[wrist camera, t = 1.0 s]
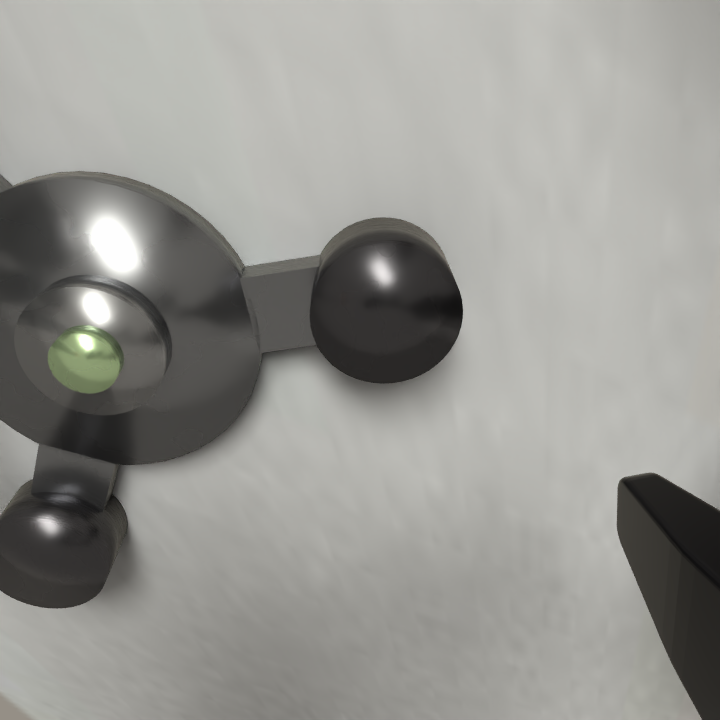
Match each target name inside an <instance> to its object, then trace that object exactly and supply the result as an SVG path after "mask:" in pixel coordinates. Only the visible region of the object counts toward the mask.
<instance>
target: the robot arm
mask: <svg viewBox="0 0 720 720" xmlns="http://www.w3.org/2000/svg"><path fill="white" fill-rule="evenodd" d="M617 531H618V536H619V539H620V542H621V545H622V547H623V550H624V552H625V555H626V557H627V559H628V562H629V564H630V567H631V569H632V571H633V574H634V576H635V578H636V581H637V583H638V586H639V588H640V590H641V593H642V595H643V597H644V600H645V602H646V605H647V607H648V609H649V612H650V614H651V617H652V619H653V621H654V624H655V626H656V628H657V631H658V633H659V636H660V638H661V640H662V643H663V645H664V647H665V649H666V652H667V654H668V656H669V658H670V661H671V663H672V665H673V667H674V668H675V670H676V672H677V674H678V676H679V678H680V680H681V682H682V684H683V686H684V687H685V689H686V691H687V693H688V695H689V697H690V698H691V700H692V702H693V704H694V706H695V707H696V709H697V711H698V713H699V715H700V717H701V718H702V720H720V510H718V509H716V508H715V507H713V506H711V505H709V504H708V503H706V502H704V501H703V500H701V499H699V498H697V497H696V496H694V495H692V494H691V493H689V492H687V491H685V490H684V489H682V488H680V487H679V486H677V485H675V484H674V483H672V482H670V481H668V480H667V479H665V478H663V477H662V476H660V475H658V474H655V473H644V474H639V475H634V476H628V477H624V478H622V479H621V480H620V481H619V484H618V498H617Z"/></svg>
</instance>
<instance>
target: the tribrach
mask: <svg viewBox="0 0 720 720" xmlns="http://www.w3.org/2000/svg"><path fill="white" fill-rule="evenodd" d="M462 318H463V306H462V299H461V295H460V291H459V289H458V286H457V284H456V282H455V279H454V277H453V274H452V272H451V270H450V267H449V265H448V263H447V260H446V258H445V255H444V253H443V251H442V250H441V248H440V246H439V245H438V244H437V242H436V241H435V240H434V239H433V238H432V237H431V236H430V235H429V234H428V233H427V232H425V231H424V230H423V229H421V228H420V227H418V226H416V225H414V224H412V223H409V222H407V221H404V220H400V219H395V218H384V217H383V218H372V219H367V220H363V221H360V222H357V223H354V224H352V225H350V226H348V227H346V228H345V229H343V230H342V231H340V232H339V233H338V234H337V235H335V236H334V237H333V238H332V239H331V240H330V241H329V243H328V244H327V245H326V246H325V248H324V249H323V251H322V253H321V255H318V256H311V257H305V258H298V259H292V260H286V261H279V262H273V263H266V264H260V265H253V266H247V267H245V266H244V264H243V263H242V261H241V259H240V258H239V256H238V254H237V253H236V252H235V250H234V249H233V248H232V247H231V245H230V244H229V243H228V242H227V240H226V239H225V238H224V237H223V236H222V235H221V234H220V233H219V232H218V231H217V230H216V229H215V228H214V227H213V226H212V225H211V224H210V223H209V222H208V221H207V220H206V219H205V218H203V217H202V216H201V215H200V214H198V213H197V212H196V211H194V210H193V209H192V208H191V207H189V206H187V205H186V204H184V203H183V202H181V201H179V200H178V199H176V198H175V197H173V196H171V195H169V194H167V193H165V192H163V191H161V190H159V189H157V188H154V187H152V186H150V185H148V184H145V183H142V182H139V181H136V180H133V179H129V178H126V177H121V176H116V175H112V174H107V173H98V172H84V171H76V172H59V173H54V174H49V175H44V176H39V177H35V178H32V179H30V180H27V181H24V182H21V183H19V184H16V185H14V186H12V185H11V184H10V183H9V182H8V181H7V180H6V179H4V178H3V177H2V176H1V175H0V420H2V421H3V422H4V423H6V424H7V425H9V426H10V427H11V428H13V429H14V430H16V431H17V432H19V433H21V434H22V435H24V436H26V437H28V438H29V439H31V440H33V441H34V442H37V443H39V448H38V454H37V460H36V465H35V471H34V477H33V479H32V480H30V481H28V482H27V483H25V484H24V485H23V486H22V487H20V489H19V490H18V491H17V492H16V494H15V495H14V497H13V498H12V500H11V501H10V503H9V504H8V506H7V507H6V508H5V510H4V511H3V513H2V514H1V516H0V590H1V591H2V592H3V593H5V594H7V595H8V596H10V597H12V598H14V599H16V600H18V601H21V602H24V603H26V604H30V605H33V606H38V607H44V608H68V607H74V606H77V605H81V604H83V603H86V602H88V601H89V600H91V599H93V598H94V597H95V596H96V595H97V594H98V593H99V592H100V591H101V590H102V588H103V586H104V584H105V581H106V579H107V577H108V574H109V572H110V570H111V567H112V565H113V562H114V560H115V558H116V555H117V553H118V551H119V548H120V546H121V543H122V541H123V539H124V536H125V534H126V530H127V517H126V514H125V511H124V509H123V507H122V506H121V504H120V503H119V501H118V500H117V499H116V498H115V497H114V496H113V495H112V491H113V487H114V483H115V479H116V475H117V471H118V467H119V464H122V465H134V464H148V463H154V462H160V461H166V460H169V459H173V458H176V457H180V456H183V455H185V454H187V453H190V452H192V451H194V450H197V449H199V448H200V447H202V446H204V445H205V444H207V443H209V442H211V441H212V440H213V439H215V438H216V437H217V436H219V435H220V434H221V433H222V432H224V431H225V430H226V429H227V428H228V427H229V426H230V425H231V424H232V423H233V421H234V420H235V419H236V418H237V417H238V415H239V414H240V412H241V411H242V410H243V408H244V407H245V405H246V403H247V401H248V399H249V397H250V395H251V393H252V391H253V388H254V385H255V382H256V379H257V376H258V372H259V367H260V363H261V359H262V353H265V352H272V351H279V350H285V349H292V348H299V347H306V346H313V345H317V346H318V348H319V350H320V351H321V353H322V354H323V355H324V357H325V358H326V359H327V360H328V361H329V362H330V363H331V364H332V365H333V366H335V367H336V368H337V369H339V370H340V371H342V372H343V373H345V374H347V375H349V376H351V377H354V378H356V379H359V380H363V381H367V382H373V383H395V382H401V381H405V380H409V379H412V378H414V377H417V376H419V375H421V374H423V373H425V372H427V371H429V370H430V369H431V368H433V367H434V366H435V365H437V364H438V363H439V362H440V361H441V360H442V359H443V358H444V357H445V356H446V355H447V354H448V352H449V351H450V350H451V348H452V346H453V345H454V343H455V341H456V339H457V337H458V335H459V331H460V328H461V324H462Z"/></svg>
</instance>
